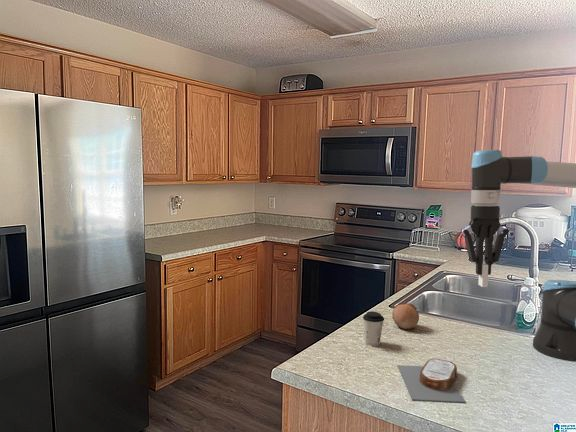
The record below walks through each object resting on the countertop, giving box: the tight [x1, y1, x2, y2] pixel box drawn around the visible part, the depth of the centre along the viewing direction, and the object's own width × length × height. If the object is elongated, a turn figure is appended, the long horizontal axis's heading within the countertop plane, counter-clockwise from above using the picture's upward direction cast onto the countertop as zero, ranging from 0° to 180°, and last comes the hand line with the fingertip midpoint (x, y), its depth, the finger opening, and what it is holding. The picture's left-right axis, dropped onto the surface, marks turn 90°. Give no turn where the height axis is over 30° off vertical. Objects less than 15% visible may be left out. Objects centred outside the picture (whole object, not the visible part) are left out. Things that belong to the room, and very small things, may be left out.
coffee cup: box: [362, 310, 385, 347], centre depth 142 cm, size 7×7×10 cm
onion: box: [391, 302, 420, 330], centre depth 157 cm, size 10×9×10 cm
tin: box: [419, 358, 458, 390], centre depth 118 cm, size 15×3×8 cm
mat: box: [397, 364, 466, 404], centre depth 116 cm, size 13×19×1 cm
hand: (482, 285), depth 125 cm, fingers closed
